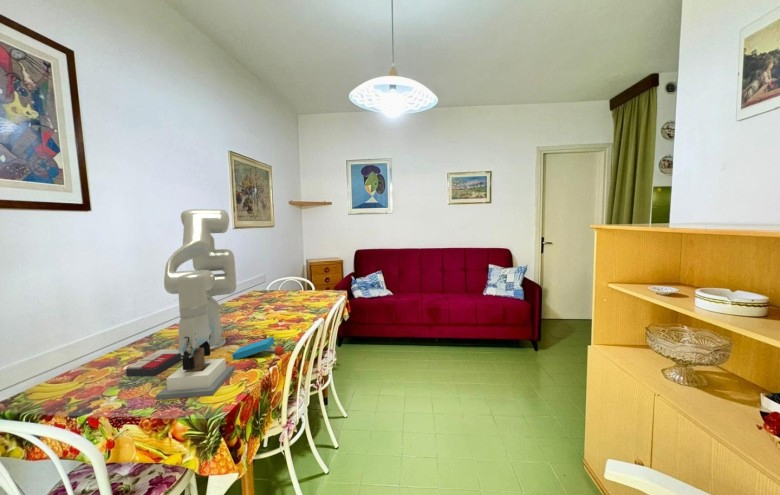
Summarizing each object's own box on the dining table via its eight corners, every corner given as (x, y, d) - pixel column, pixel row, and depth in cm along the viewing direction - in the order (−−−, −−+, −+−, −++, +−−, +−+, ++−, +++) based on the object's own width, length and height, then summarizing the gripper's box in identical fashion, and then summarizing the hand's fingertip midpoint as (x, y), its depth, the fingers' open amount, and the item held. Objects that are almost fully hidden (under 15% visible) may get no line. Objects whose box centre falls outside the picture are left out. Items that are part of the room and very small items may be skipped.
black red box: (124, 367, 102) (160, 347, 117) (126, 378, 102) (161, 357, 117) (154, 367, 101) (186, 347, 116) (156, 378, 102) (187, 357, 117)
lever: (237, 371, 114) (281, 356, 114) (231, 354, 113) (276, 340, 114) (245, 363, 121) (286, 349, 121) (239, 347, 120) (281, 334, 121)
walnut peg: (195, 376, 97) (193, 347, 97) (208, 376, 98) (206, 347, 97) (188, 383, 93) (186, 352, 93) (201, 382, 94) (199, 352, 93)
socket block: (187, 373, 103) (186, 358, 102) (234, 370, 104) (233, 355, 104) (156, 399, 87) (154, 382, 86) (212, 395, 89) (211, 377, 88)
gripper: (196, 305, 102) (199, 352, 103) (163, 320, 85) (168, 376, 86) (218, 303, 103) (221, 350, 104) (191, 318, 86) (195, 374, 87)
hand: (197, 362), depth 95 cm, fingers open, 9 cm apart
